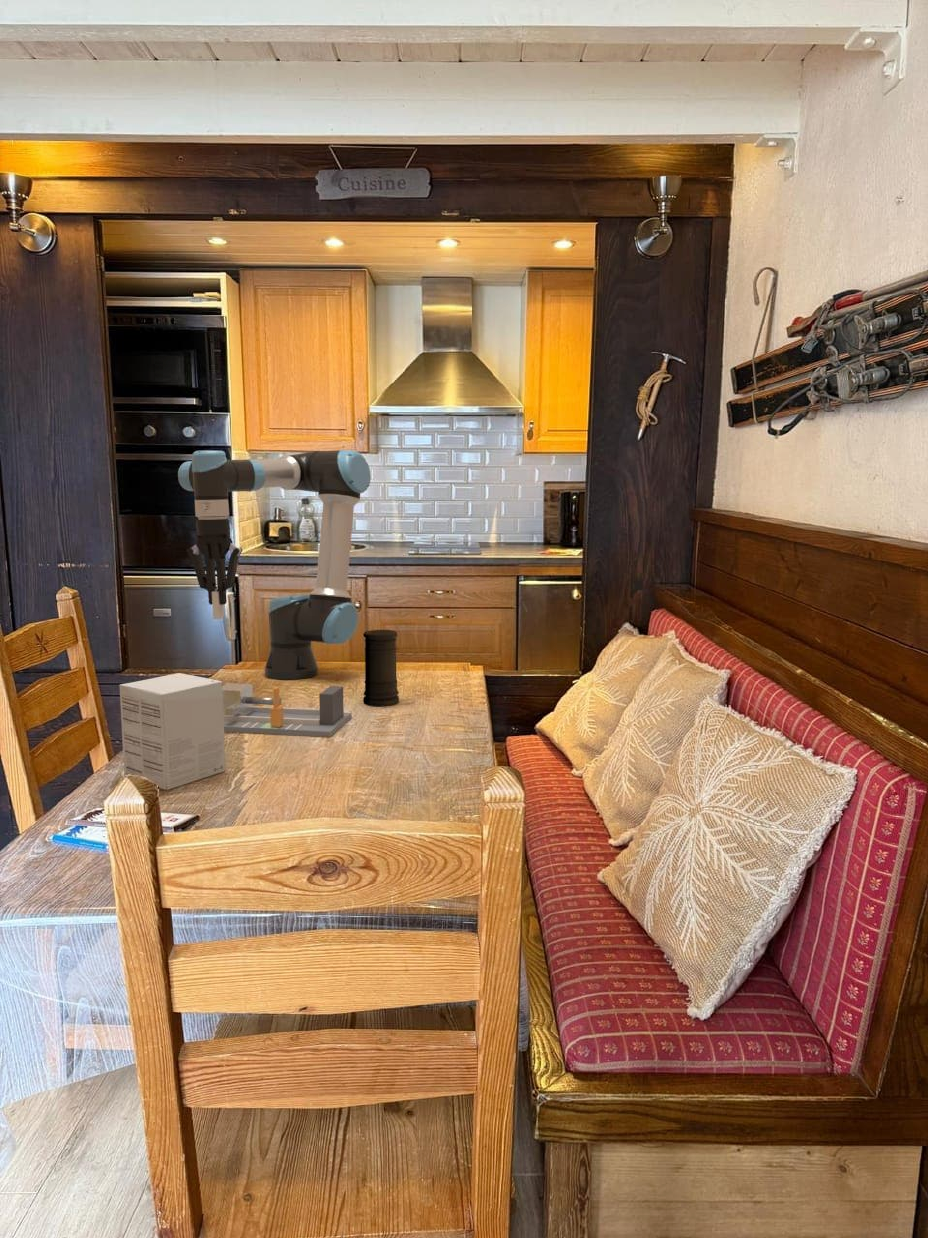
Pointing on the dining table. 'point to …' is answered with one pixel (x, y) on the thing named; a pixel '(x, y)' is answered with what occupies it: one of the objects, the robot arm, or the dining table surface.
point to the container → (380, 668)
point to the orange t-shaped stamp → (276, 710)
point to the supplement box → (173, 729)
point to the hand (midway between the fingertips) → (218, 618)
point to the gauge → (241, 699)
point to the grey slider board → (296, 718)
